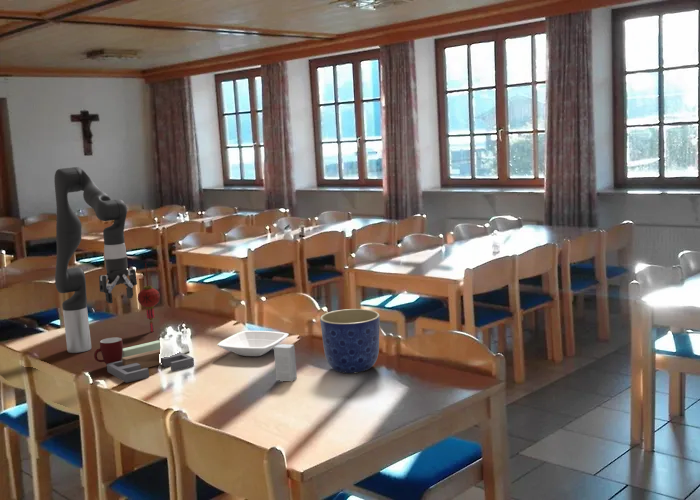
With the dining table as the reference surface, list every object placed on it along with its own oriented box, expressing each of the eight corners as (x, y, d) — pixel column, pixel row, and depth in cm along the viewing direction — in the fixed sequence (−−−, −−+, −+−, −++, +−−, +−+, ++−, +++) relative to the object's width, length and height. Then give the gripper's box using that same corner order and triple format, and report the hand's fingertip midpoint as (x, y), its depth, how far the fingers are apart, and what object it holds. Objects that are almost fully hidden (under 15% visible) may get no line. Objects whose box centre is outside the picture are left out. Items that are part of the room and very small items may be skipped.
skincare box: (297, 378, 279) (294, 344, 277) (292, 382, 275) (290, 347, 273) (280, 377, 281) (278, 343, 279) (275, 381, 277) (273, 347, 275)
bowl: (213, 360, 306) (211, 345, 305) (243, 343, 327) (242, 329, 326) (266, 364, 297) (265, 349, 296) (294, 346, 318) (293, 332, 317)
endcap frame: (107, 371, 298) (106, 363, 298) (173, 356, 314) (172, 348, 313) (126, 382, 284) (125, 374, 284) (194, 365, 300) (193, 357, 299)
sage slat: (121, 361, 311) (119, 349, 310) (159, 352, 321) (158, 340, 320) (125, 363, 308) (123, 350, 307) (163, 354, 318) (162, 341, 317)
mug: (100, 372, 298) (97, 345, 296) (92, 367, 304) (89, 341, 303) (128, 366, 304) (125, 340, 302) (120, 361, 310) (117, 336, 309)
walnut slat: (123, 371, 299) (122, 357, 298) (163, 361, 309) (162, 348, 308) (127, 373, 296) (125, 359, 296) (168, 363, 306) (166, 350, 305)
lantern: (160, 334, 348) (153, 264, 343) (138, 335, 348) (131, 265, 343) (165, 328, 357) (159, 260, 352) (144, 329, 357) (137, 261, 352)
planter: (394, 366, 287) (391, 313, 284) (354, 382, 272) (351, 326, 269) (351, 356, 301) (348, 306, 298) (310, 371, 286) (307, 318, 283)
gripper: (125, 252, 299) (129, 295, 302) (92, 258, 288) (96, 303, 291) (138, 253, 295) (142, 297, 297) (105, 260, 284) (109, 306, 286)
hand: (120, 300), depth 294 cm, fingers open, 8 cm apart
